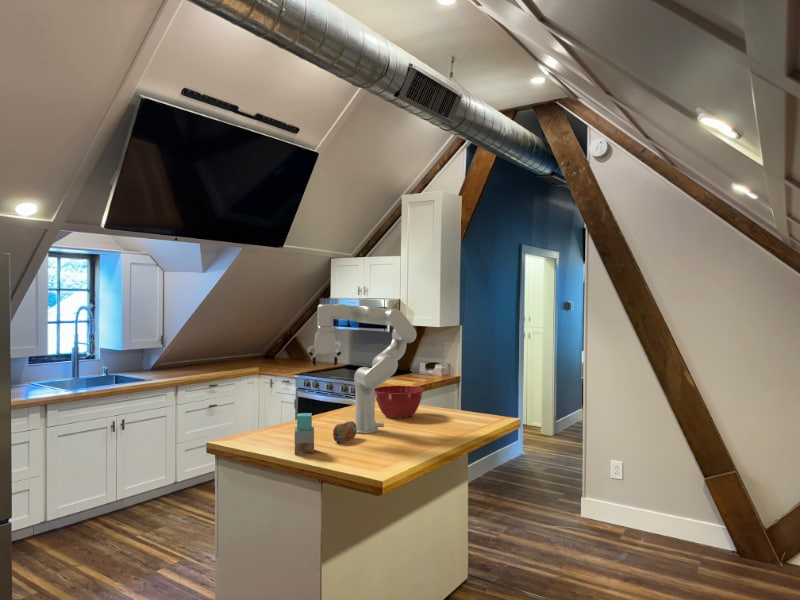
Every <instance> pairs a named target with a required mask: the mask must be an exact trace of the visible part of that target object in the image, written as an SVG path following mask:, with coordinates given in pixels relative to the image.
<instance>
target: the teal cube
mask: <svg viewBox="0 0 800 600" xmlns="http://www.w3.org/2000/svg"><path fill="white" fill-rule="evenodd" d="M312 414H313V413H312V412H310V413H309V412H302V413H300V412H299V413H297V415H296V427H297V431H300V430H312V427H313V424H312V423H313V417H312V416H313V415H312Z"/></svg>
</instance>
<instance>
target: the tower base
mask: <svg viewBox="0 0 800 600" xmlns="http://www.w3.org/2000/svg"><path fill="white" fill-rule="evenodd" d="M297 454H310V455H315V442H314V443H295V442H294V456H298V455H297Z"/></svg>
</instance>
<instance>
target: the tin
mask: <svg viewBox="0 0 800 600" xmlns="http://www.w3.org/2000/svg"><path fill="white" fill-rule="evenodd" d="M356 431H357V428H356V424H355V421H344V422H341V423H338V424H336V425H335V426H334V428H333V431H332V436H333V440H334V442H336V443H340V444H343V443H345V441H346V442H348V440H349V441H351V439H352V440H353V439H354V438H355V437H356V434H357V433H356ZM342 442H343V443H342Z"/></svg>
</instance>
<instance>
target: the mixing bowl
mask: <svg viewBox="0 0 800 600" xmlns="http://www.w3.org/2000/svg"><path fill="white" fill-rule="evenodd" d="M374 392H375V400H376V403H377V404H378V407H379V409H380V411H381V413H382V414H383V415H385V417H387V418H389V417H391V418H390V419H395V418H402V419H408V418H407V417H409V418H410V416H411V417H412V416H413V415H414V414H415V413H416V412H417V411H418V408H419V405H420V404H421V401H422V396H423V392H424V388H423V387H421V386H415V385H414V386H413V385H385V386H378V387H377V388H374Z"/></svg>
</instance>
